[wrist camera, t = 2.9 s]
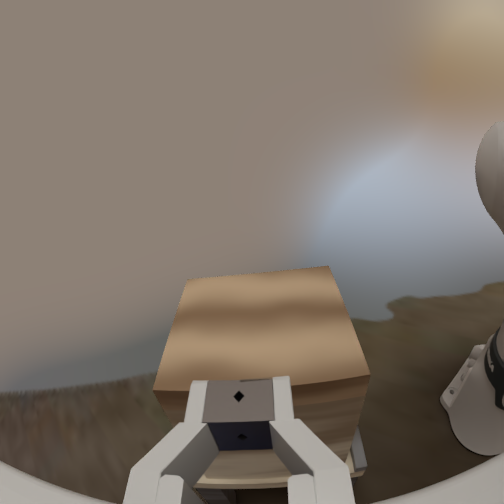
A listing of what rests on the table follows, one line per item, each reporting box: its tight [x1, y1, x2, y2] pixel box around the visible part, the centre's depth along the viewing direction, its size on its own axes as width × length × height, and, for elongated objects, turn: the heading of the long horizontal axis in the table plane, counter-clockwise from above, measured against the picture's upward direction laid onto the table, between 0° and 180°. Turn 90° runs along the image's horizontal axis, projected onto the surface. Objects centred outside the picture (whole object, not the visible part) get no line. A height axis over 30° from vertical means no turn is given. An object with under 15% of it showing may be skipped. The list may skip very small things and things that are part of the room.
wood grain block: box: [153, 266, 370, 479], centre depth 24 cm, size 12×12×14 cm
